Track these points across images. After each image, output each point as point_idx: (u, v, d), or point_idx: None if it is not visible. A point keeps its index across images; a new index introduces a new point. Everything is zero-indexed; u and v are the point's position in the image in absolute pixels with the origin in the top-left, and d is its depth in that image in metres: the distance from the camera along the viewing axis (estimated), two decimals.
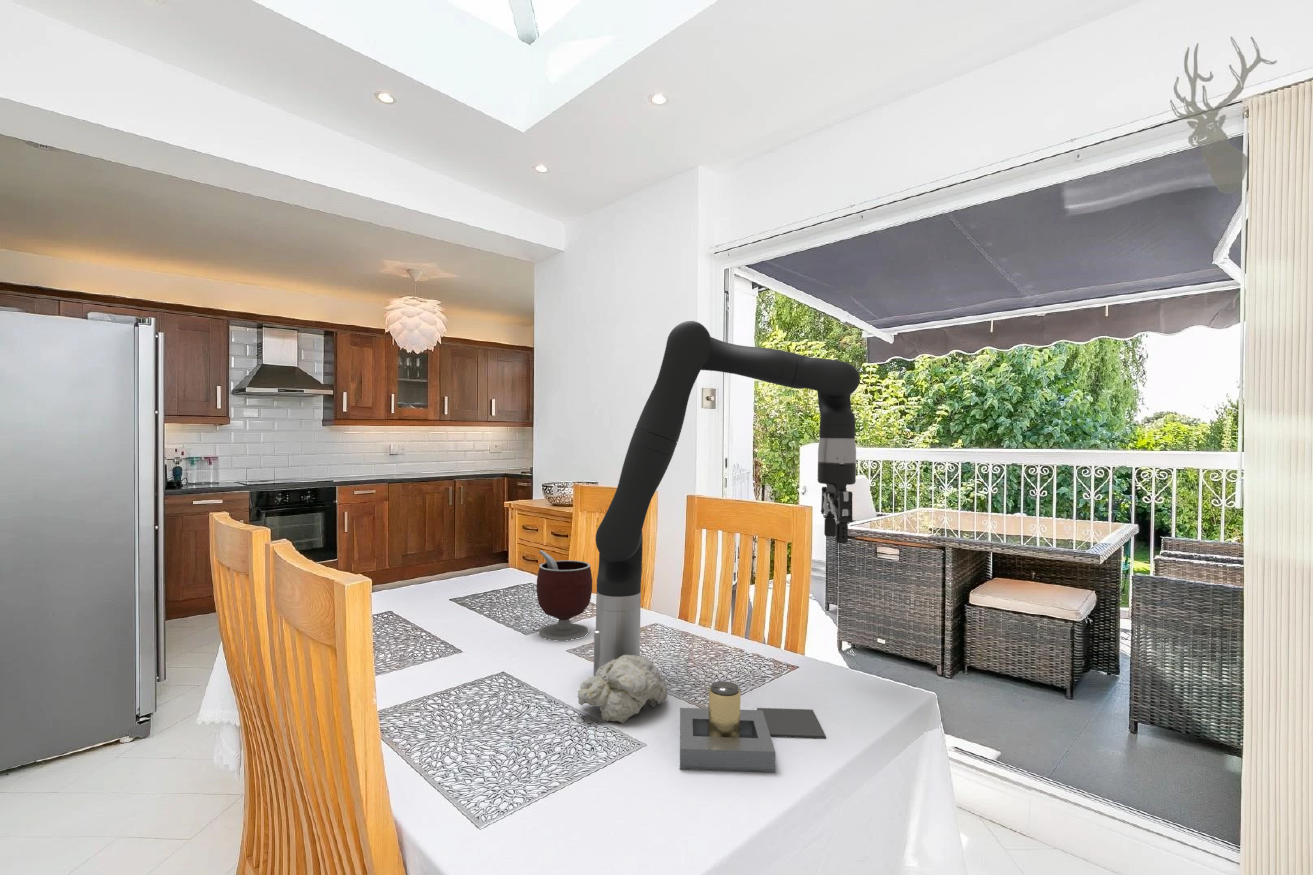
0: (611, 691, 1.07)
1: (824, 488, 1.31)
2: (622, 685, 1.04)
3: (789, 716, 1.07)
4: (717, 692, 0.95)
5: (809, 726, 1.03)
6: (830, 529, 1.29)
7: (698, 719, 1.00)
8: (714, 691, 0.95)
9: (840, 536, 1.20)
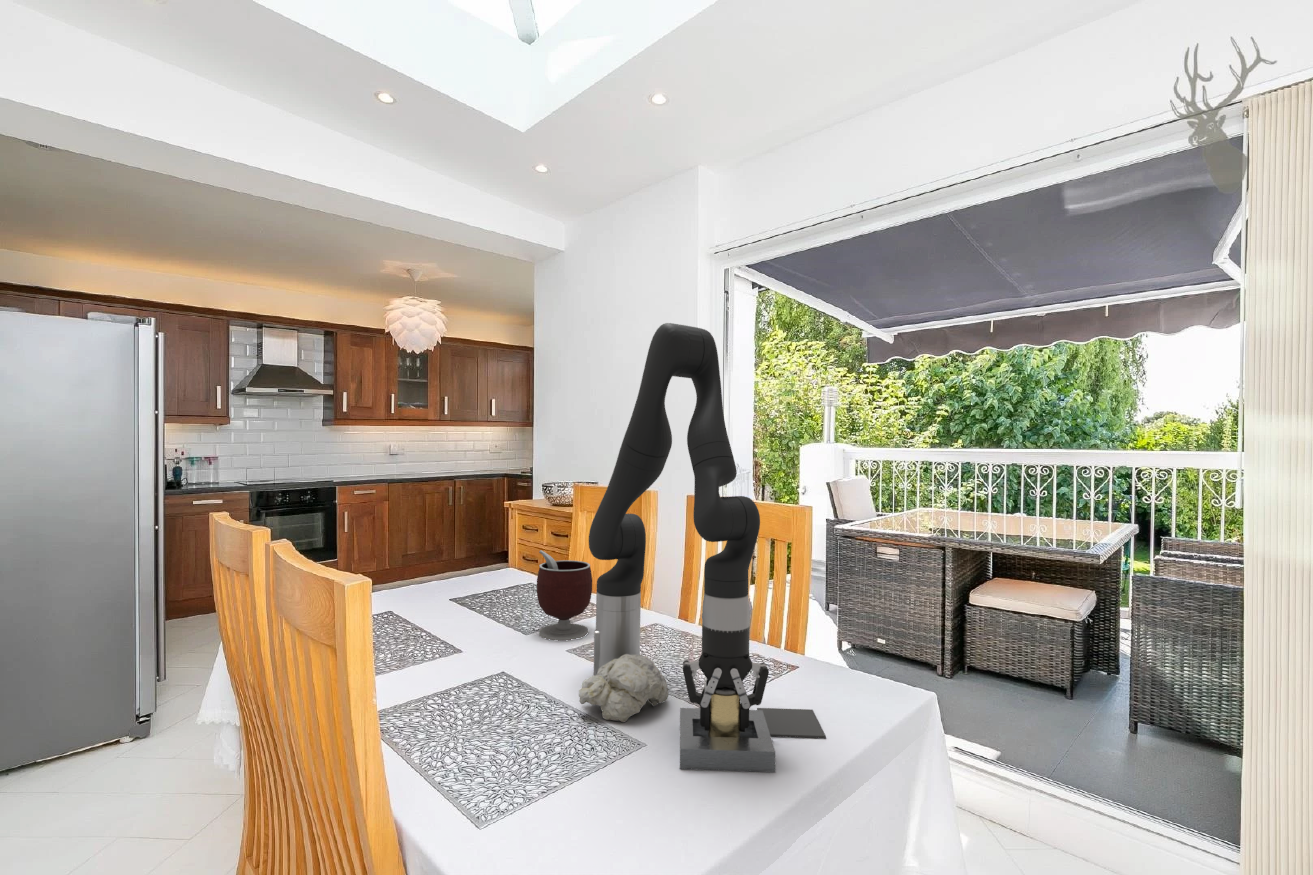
0: (611, 690, 1.07)
1: (689, 666, 0.96)
2: (622, 684, 1.05)
3: (789, 716, 1.07)
4: (717, 692, 0.95)
5: (809, 726, 1.03)
6: None
7: (698, 719, 1.00)
8: (714, 691, 0.95)
9: (748, 722, 0.96)
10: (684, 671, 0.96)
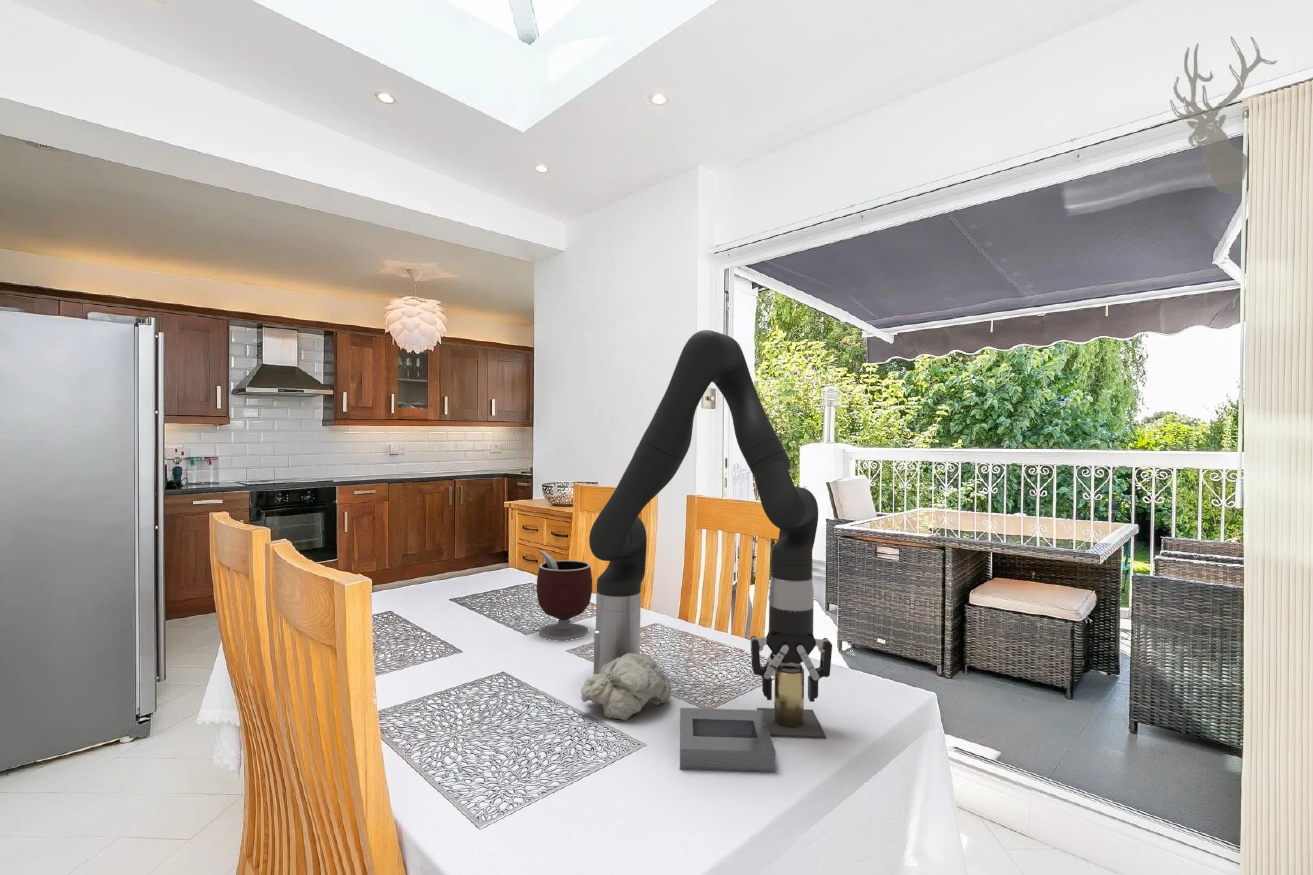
0: (613, 688, 1.08)
1: (758, 641, 1.05)
2: (624, 683, 1.05)
3: None
4: (783, 670, 1.04)
5: (809, 726, 1.03)
6: None
7: (698, 719, 1.00)
8: (781, 670, 1.04)
9: (817, 692, 1.05)
10: (753, 645, 1.04)
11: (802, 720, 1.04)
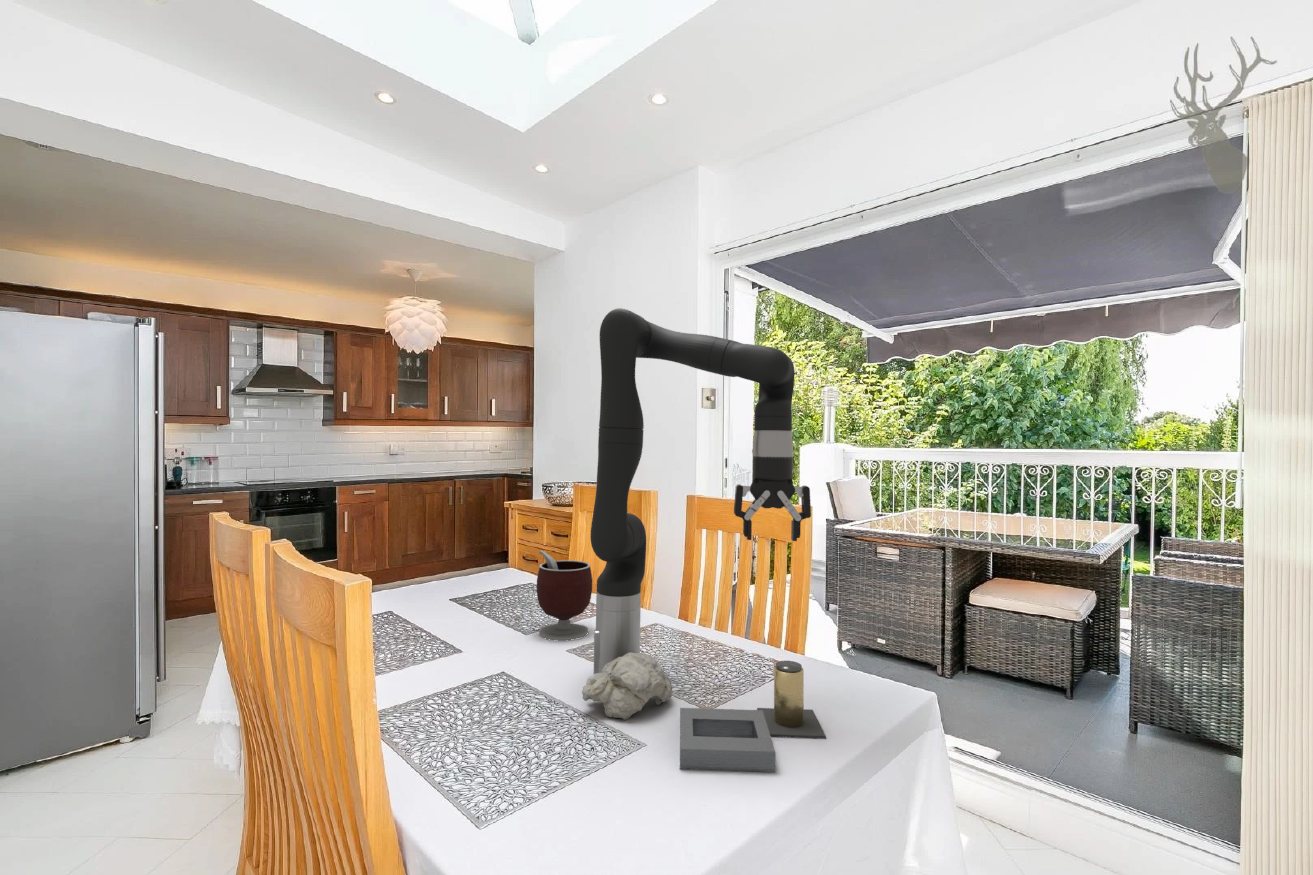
0: (614, 688, 1.08)
1: (742, 486, 1.15)
2: (624, 682, 1.06)
3: None
4: (783, 669, 1.04)
5: (809, 726, 1.03)
6: None
7: (698, 719, 1.00)
8: (780, 669, 1.04)
9: None
10: (737, 489, 1.15)
11: (802, 719, 1.04)
